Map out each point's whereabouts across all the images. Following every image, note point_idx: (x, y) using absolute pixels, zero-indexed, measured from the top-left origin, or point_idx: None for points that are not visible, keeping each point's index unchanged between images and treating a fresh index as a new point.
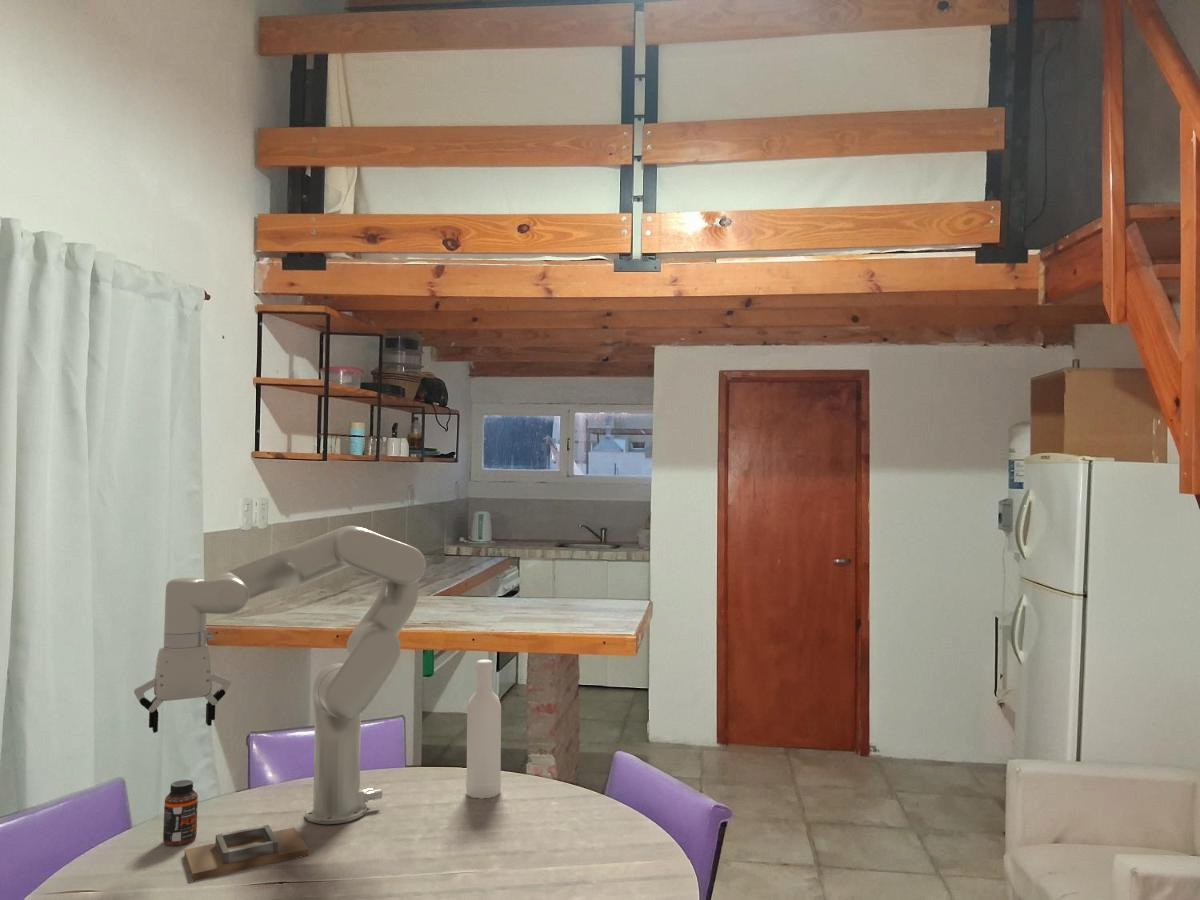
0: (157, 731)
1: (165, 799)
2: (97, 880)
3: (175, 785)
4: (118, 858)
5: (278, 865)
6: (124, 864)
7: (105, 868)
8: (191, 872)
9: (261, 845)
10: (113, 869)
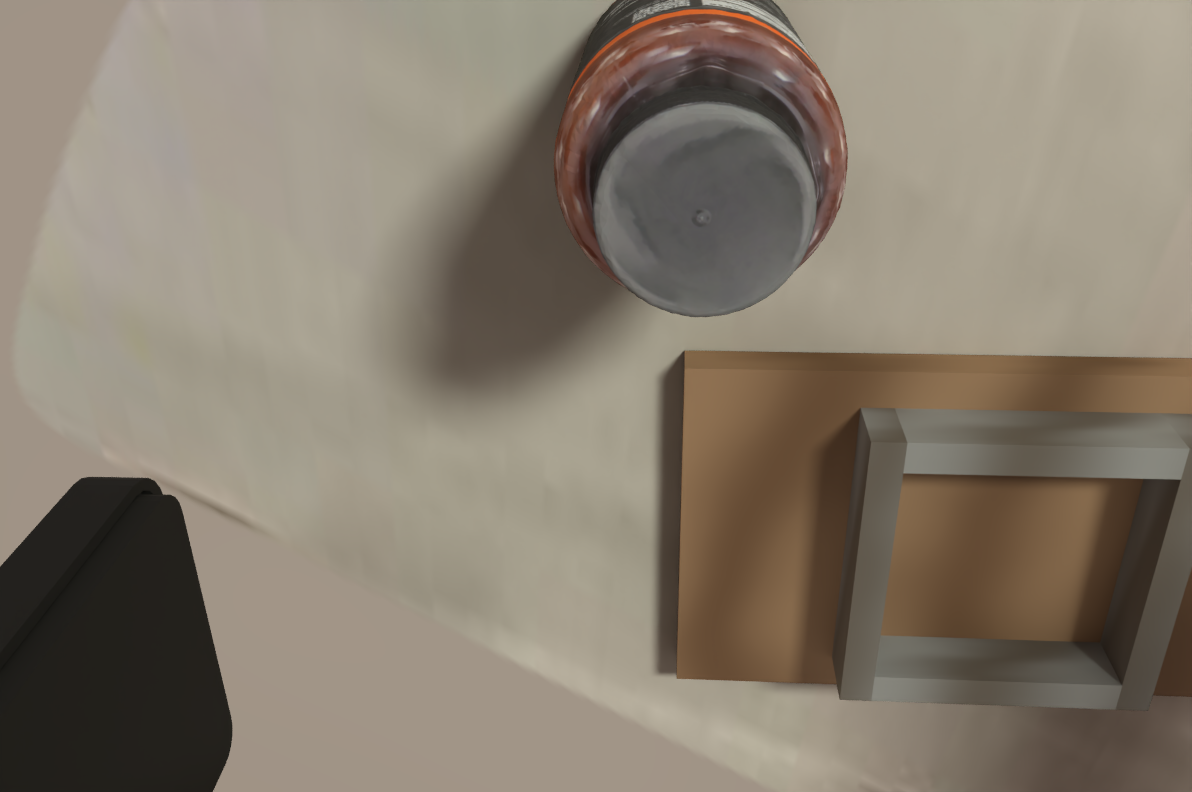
0: (228, 742)
1: (557, 181)
2: (242, 425)
3: (633, 275)
4: (315, 174)
5: None
6: (358, 289)
7: (259, 290)
8: (677, 646)
9: (1048, 706)
10: (305, 327)
